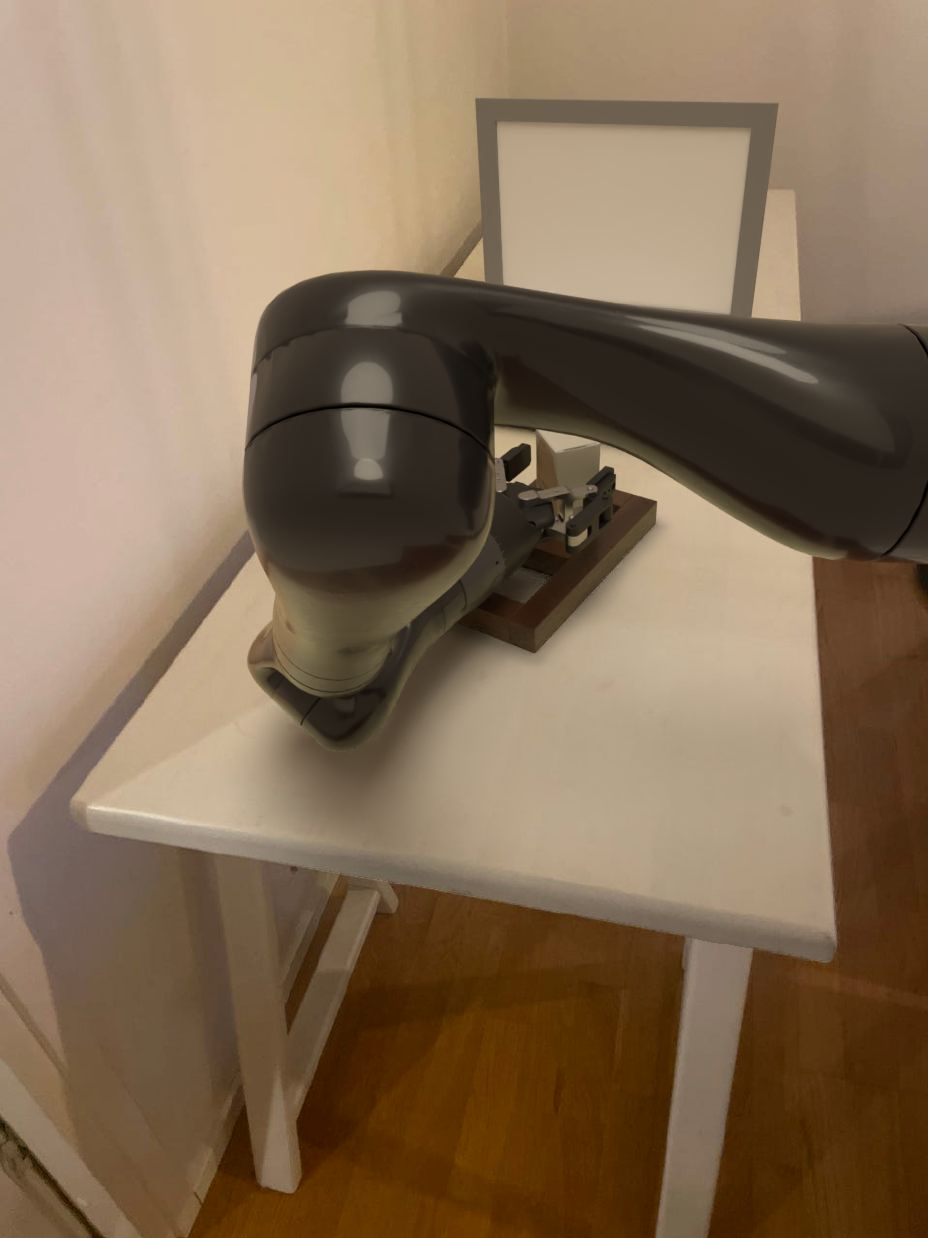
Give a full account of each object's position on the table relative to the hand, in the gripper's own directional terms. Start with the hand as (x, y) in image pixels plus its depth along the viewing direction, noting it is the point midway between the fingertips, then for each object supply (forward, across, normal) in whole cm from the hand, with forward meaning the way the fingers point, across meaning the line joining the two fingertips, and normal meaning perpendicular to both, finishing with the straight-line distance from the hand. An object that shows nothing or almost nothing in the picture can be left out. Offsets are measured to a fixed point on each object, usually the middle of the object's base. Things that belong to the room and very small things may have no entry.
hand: (568, 463), depth 84 cm
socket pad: (-5, 0, +8) cm, 9 cm away
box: (0, 0, +8) cm, 8 cm away
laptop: (+29, +16, +8) cm, 34 cm away
